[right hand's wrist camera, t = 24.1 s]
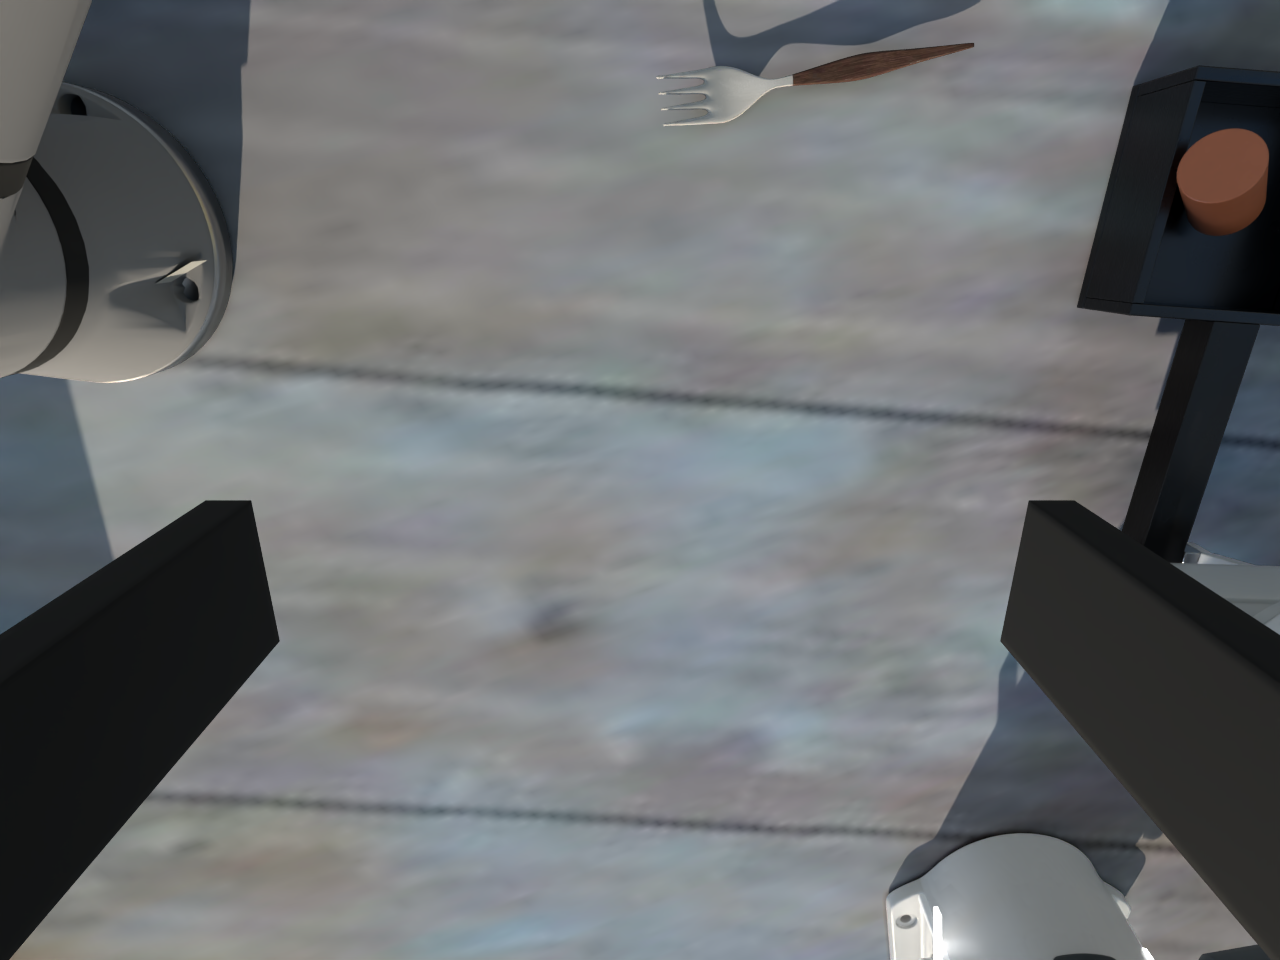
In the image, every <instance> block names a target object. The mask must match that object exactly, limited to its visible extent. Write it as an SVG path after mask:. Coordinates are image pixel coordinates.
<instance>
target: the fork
mask: <svg viewBox="0 0 1280 960" xmlns="http://www.w3.org/2000/svg"><path fill="white" fill-rule="evenodd" d="M972 47H974V43H966V44H956V45H946V46H937V47H927V48H916V49H904V50H891V51H879V52H870V53H864V54H859V55H855V56H851V57H847V58H844V59H840V60H837V61H834V62H830V63H827V64H824V65H821V66H818V67H815V68H812V69H809V70H805V71H802V72H799V73H796V74H793V75H790V76H786V77H782V78H778V79H765V78H762V77H759V76H756V75H753V74H751V73H748V72H746V71H743V70H741V69H737V68H734V67H729V66H716V67H710V68H706V69H701V70H696V71H689V72H683V73H676V74H670V75H664V76H657V77H656V78H657V79H660V78H669V79H686V78H699V79H703V80H704V83H703V84H702V85H699V86H695V87H689V88H683V89H677V90H672V91H666V92H660V93H659V94H704V95H705V96H706V99H704V100H702V101H699V102H694V103H688V104H683V105H677V106H672V107H667V108H662V109H661V110H690V109H705V110H707V111H708V114H707V115H705V116H702V117H697V118H692V119H686V120H681V121H677V122H672V123H664V124H663V125H664V126H669V125H695V124H714V123H724V122H728V121H731V120H733V119H735V118H737V117H738V116H740V115H741V114H742V113H744V112H745V111H746V110H747V109H748V108H749V107H750V106H752V105H753V104H754V103H755V102H756V101H757V100H758V99H759V98H760V97H761V96H762V95H764V94H765V93H766V92H768V91H770V90H772V89H774V88H778V87H783V86H795V85H811V84H827V83H840V82H850V81H856V80H862V79H866V78H870V77H874V76H877V75H881V74H884V73H887V72H890V71H893V70H897V69H900V68H903V67H906V66H909V65H913V64H916V63H919V62H923V61H926V60H930V59H933V58H937V57H940V56H944V55H948V54H951V53H955V52H958V51H962V50H966V49H969V48H972Z"/></svg>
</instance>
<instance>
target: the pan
mask: <svg viewBox="0 0 1280 960" xmlns="http://www.w3.org/2000/svg"><path fill="white" fill-rule="evenodd" d="M1231 128H1239V129H1245V130H1249V131H1252V132H1254V133H1256V134H1258V135H1259V136H1260V137H1261V138H1262V139H1263V140H1264V141H1265V143H1266V145H1267V147H1268V151H1269V163H1268V177H1267V191H1266V201H1265V205H1264V208H1263V210H1262V211H1261V213H1260V214H1259V216H1258V217H1257V218H1256V219H1255V220H1254V221H1253V222H1252V223H1251V224H1250V225H1248V226H1247V227H1245V228H1244V229H1242V230H1240V231H1238V232H1235V233H1232V234H1228V235H1223V236H1211V235H1206V234H1203V233H1200V232H1198V231H1197V230H1195V229H1194V228H1193V227H1192V226H1191V224H1190V223H1189V221H1188V218H1187V215H1186V211H1185V208H1184V204H1183V201H1182V197H1181V194H1180V190H1179V187H1178V183H1177V169H1178V166H1179V163H1180V161H1181V159H1182V157H1183V156H1184V154H1185V153H1186V152H1187V150H1188V149H1189V148H1190V147H1191V146H1192V145H1193V144H1195V143H1196V142H1197V141H1199V140H1200V139H1202V138H1203V137H1205V136H1207V135H1209V134H1211V133H1214V132H1217V131H1220V130H1224V129H1231ZM1077 308H1083V309H1090V310H1097V311H1104V312H1111V313H1118V314H1124V315H1133V316H1147V317H1161V318H1175V319H1186V320H1185V323H1184V327H1183V330H1182V333H1181V337H1180V340H1179V343H1178V347H1177V350H1176V353H1175V356H1174V360H1173V363H1172V366H1171V370H1170V373H1169V376H1168V380H1167V383H1166V386H1165V390H1164V393H1163V396H1162V399H1161V403H1160V406H1159V409H1158V413H1157V416H1156V419H1155V423H1154V426H1153V429H1152V433H1151V436H1150V439H1149V442H1148V446H1147V449H1146V452H1145V456H1144V459H1143V462H1142V466H1141V469H1140V472H1139V476H1138V479H1137V482H1136V486H1135V489H1134V492H1133V495H1132V499H1131V502H1130V505H1129V509H1128V512H1127V515H1126V519H1125V522H1124V525H1123V529H1122V532H1123V533H1125V534H1126V535H1128V536H1129V537H1131V538H1132V539H1134V540H1135V541H1137V542H1139V543H1140V544H1142V545H1143V546H1145V547H1146V548H1148V549H1149V550H1151V551H1152V552H1154V553H1155V554H1157V555H1158V556H1160V557H1161V558H1163V559H1165V560H1166V561H1168V562H1169V563H1181V560H1182V557H1183V554H1184V551H1185V548H1186V545H1187V542H1188V539H1189V536H1190V533H1191V530H1192V527H1193V524H1194V521H1195V518H1196V515H1197V512H1198V509H1199V506H1200V503H1201V500H1202V497H1203V494H1204V491H1205V488H1206V485H1207V482H1208V479H1209V476H1210V473H1211V470H1212V467H1213V464H1214V461H1215V458H1216V455H1217V452H1218V449H1219V446H1220V443H1221V440H1222V437H1223V434H1224V431H1225V428H1226V425H1227V422H1228V419H1229V416H1230V413H1231V410H1232V407H1233V404H1234V401H1235V399H1236V396H1237V393H1238V390H1239V387H1240V384H1241V381H1242V378H1243V375H1244V372H1245V369H1246V366H1247V363H1248V360H1249V357H1250V354H1251V351H1252V348H1253V345H1254V342H1255V339H1256V336H1257V333H1258V330H1259V327H1260V325H1274V326H1280V72H1274V71H1262V70H1249V69H1236V68H1224V67H1211V66H1196V67H1193V68H1190V69H1187V70H1183V71H1180V72H1177V73H1174V74H1171V75H1168V76H1165V77H1161V78H1158V79H1155V80H1152V81H1149V82H1146V83H1143V84H1139V85H1136V86H1133V88H1132V92H1131V96H1130V100H1129V104H1128V108H1127V112H1126V116H1125V120H1124V124H1123V128H1122V132H1121V135H1120V139H1119V143H1118V147H1117V151H1116V155H1115V159H1114V163H1113V167H1112V171H1111V175H1110V179H1109V183H1108V187H1107V191H1106V195H1105V198H1104V202H1103V206H1102V210H1101V214H1100V218H1099V222H1098V226H1097V230H1096V234H1095V238H1094V242H1093V246H1092V250H1091V254H1090V257H1089V261H1088V265H1087V269H1086V273H1085V277H1084V281H1083V285H1082V289H1081V293H1080V297H1079V301H1078V305H1077ZM1259 324H1260V325H1259Z"/></svg>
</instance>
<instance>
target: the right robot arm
mask: <svg viewBox="0 0 1280 960" xmlns="http://www.w3.org/2000/svg"><path fill="white" fill-rule="evenodd" d="M91 3H92V0H0V378H2V377H5V376H9V375H13V374H17V373H21V374H29V375H37V376H45V377H53V378H61V379H70V380H78V381H88V382H103V383H110V382H123V381H129V380H134V379H138V378H142V377H145V376H148V375H151V374H155V373H158V372H161V371H164V370H166V369H169V368H171V367H174V366H176V365H178V364H180V363H181V362H183V361H185V360H186V359H188V358H189V357H191V356H192V355H194V354H195V353H196V352H197V351H198V350H199V349H200V348H201V347H203V346H204V344H205V343H206V342H207V341H208V340H209V339H210V337H211V336H212V335H213V333H214V332H215V330H216V329H217V327H218V325H219V323H220V321H221V319H222V317H223V315H224V312H225V310H226V307H227V304H228V300H229V296H230V291H231V285H232V272H233V262H232V250H231V243H230V237H229V233H228V229H227V225H226V222H225V219H224V216H223V213H222V210H221V207H220V205H219V203H218V200H217V198H216V196H215V194H214V192H213V190H212V188H211V186H210V184H209V182H208V181H207V179H206V178H205V176H204V174H203V173H202V171H201V170H200V168H199V167H198V165H197V164H196V163H195V161H194V160H193V159H192V157H191V156H190V155H189V154H188V152H187V151H186V150H185V149H184V148H183V147H182V146H181V145H180V143H179V142H178V141H177V140H176V139H175V138H174V137H172V136H171V135H170V134H169V133H168V132H167V131H166V130H165V129H164V128H163V127H161V126H160V125H159V124H158V123H157V122H155V121H154V120H153V119H151V118H150V117H148V116H147V115H146V114H144V113H143V112H141V111H140V110H138V109H136V108H135V107H133V106H131V105H129V104H128V103H126V102H124V101H122V100H120V99H118V98H115V97H113V96H111V95H108V94H106V93H103V92H100V91H97V90H94V89H90V88H86V87H82V86H78V85H74V84H70V83H65V82H62V81H63V78H64V75H65V73H66V70H67V67H68V65H69V62H70V59H71V57H72V54H73V51H74V48H75V46H76V43H77V40H78V38H79V35H80V32H81V30H82V27H83V24H84V21H85V19H86V16H87V13H88V11H89V8H90V5H91ZM278 642H279V636H278V631H277V626H276V621H275V616H274V611H273V606H272V601H271V596H270V591H269V586H268V581H267V576H266V572H265V567H264V562H263V557H262V552H261V547H260V542H259V537H258V532H257V527H256V522H255V517H254V512H253V507H252V503H251V501H204V502H203V503H201V504H200V505H198V506H197V507H195V508H194V509H192V510H190V511H189V512H187V513H186V514H184V515H183V516H181V517H180V518H178V519H177V520H175V521H174V522H172V523H171V524H169V525H168V526H166V527H164V528H163V529H161V530H160V531H158V532H157V533H155V534H154V535H152V536H151V537H149V538H148V539H146V540H145V541H143V542H141V543H140V544H138V545H137V546H135V547H134V548H132V549H131V550H129V551H128V552H126V553H125V554H123V555H122V556H120V557H119V558H117V559H115V560H114V561H112V562H111V563H109V564H108V565H106V566H105V567H103V568H102V569H100V570H99V571H97V572H96V573H94V574H93V575H91V576H89V577H88V578H86V579H85V580H83V581H82V582H80V583H79V584H77V585H76V586H74V587H73V588H71V589H70V590H68V591H66V592H65V593H63V594H62V595H60V596H59V597H57V598H56V599H54V600H53V601H51V602H50V603H48V604H47V605H45V606H44V607H42V608H40V609H39V610H37V611H36V612H34V613H33V614H31V615H30V616H28V617H27V618H25V619H24V620H22V621H21V622H19V623H18V624H16V625H14V626H13V627H11V628H10V629H8V630H7V631H5V632H4V633H2V634H1V635H0V960H9V959H10V958H11V957H12V956H13V954H14V953H15V952H16V951H17V950H18V949H19V947H20V946H21V945H22V944H23V943H24V941H25V940H26V939H27V938H28V937H29V936H30V934H31V933H32V932H33V931H34V930H35V929H36V927H37V926H38V925H39V924H40V923H41V921H42V920H43V919H44V918H45V917H46V916H47V914H48V913H49V912H50V911H51V910H52V908H53V907H54V906H55V905H56V904H57V903H58V901H59V900H60V899H61V898H62V897H63V896H64V894H65V893H66V892H67V891H68V890H69V888H70V887H71V886H72V885H73V884H74V883H75V881H76V880H77V879H78V878H79V877H80V876H81V874H82V873H83V872H84V871H85V870H86V868H87V867H88V866H89V865H90V864H91V863H92V861H93V860H94V859H95V858H96V857H97V856H98V854H99V853H100V852H101V851H102V850H103V848H104V847H105V846H106V845H107V844H108V843H109V841H110V840H111V839H112V838H113V837H114V835H115V834H116V833H117V832H118V831H119V830H120V828H121V827H122V826H123V825H124V824H125V823H126V821H127V820H128V819H129V818H130V817H131V815H132V814H133V813H134V812H135V811H136V810H137V808H138V807H139V806H140V805H141V804H142V803H143V801H144V800H145V799H146V798H147V797H148V795H149V794H150V793H151V792H152V791H153V790H154V788H155V787H156V786H157V785H158V784H159V783H160V781H161V780H162V779H163V778H164V777H165V775H166V774H167V773H168V772H169V771H170V770H171V768H172V767H173V766H174V765H175V764H176V762H177V761H178V760H179V759H180V758H181V757H182V755H183V754H184V753H185V752H186V751H187V750H188V748H189V747H190V746H191V745H192V744H193V742H194V741H195V740H196V739H197V738H198V737H199V735H200V734H201V733H202V732H203V731H204V730H205V728H206V727H207V726H208V725H209V724H210V722H211V721H212V720H213V719H214V718H215V717H216V715H217V714H218V713H219V712H220V711H221V710H222V708H223V707H224V706H225V705H226V704H227V702H228V701H229V700H230V699H231V698H232V697H233V695H234V694H235V693H236V692H237V691H238V689H239V688H240V687H241V686H242V685H243V684H244V682H245V681H246V680H247V679H248V678H249V677H250V675H251V674H252V673H253V672H254V671H255V669H256V668H257V667H258V666H259V665H260V664H261V662H262V661H263V660H264V659H265V658H266V657H267V655H268V654H269V653H270V652H271V651H272V649H273V648H274V647H275V646H276V645H277V644H278ZM1001 642H1002V644H1003V645H1004V646H1005V647H1006V648H1007V649H1008V651H1009V652H1010V653H1011V654H1012V655H1013V657H1014V658H1015V659H1016V660H1017V661H1018V662H1019V664H1020V665H1021V666H1022V667H1023V668H1024V669H1025V671H1026V672H1027V673H1028V674H1029V675H1030V677H1031V678H1032V679H1033V680H1034V681H1035V682H1036V684H1037V685H1038V686H1039V687H1040V688H1041V689H1042V691H1043V692H1044V693H1045V694H1046V695H1047V697H1048V698H1049V699H1050V700H1051V701H1052V702H1053V704H1054V705H1055V706H1056V707H1057V708H1058V710H1059V711H1060V712H1061V713H1062V714H1063V715H1064V717H1065V718H1066V719H1067V720H1068V721H1069V722H1070V724H1071V725H1072V726H1073V727H1074V728H1075V730H1076V731H1077V732H1078V733H1079V734H1080V735H1081V737H1082V738H1083V739H1084V740H1085V741H1086V742H1087V744H1088V745H1089V746H1090V747H1091V748H1092V750H1093V751H1094V752H1095V753H1096V754H1097V755H1098V757H1099V758H1100V759H1101V760H1102V761H1103V762H1104V764H1105V765H1106V766H1107V767H1108V768H1109V770H1110V771H1111V772H1112V773H1113V774H1114V775H1115V777H1116V778H1117V779H1118V780H1119V781H1120V783H1121V784H1122V785H1123V786H1124V787H1125V788H1126V790H1127V791H1128V792H1129V793H1130V794H1131V795H1132V797H1133V798H1134V799H1135V800H1136V801H1137V803H1138V804H1139V805H1140V806H1141V807H1142V808H1143V810H1144V811H1145V812H1146V813H1147V814H1148V815H1149V817H1150V818H1151V819H1152V820H1153V821H1154V823H1155V824H1156V825H1157V826H1158V827H1159V828H1160V830H1161V831H1162V832H1163V833H1164V834H1165V835H1166V837H1167V838H1168V839H1169V840H1170V841H1171V843H1172V844H1173V845H1174V846H1175V847H1176V848H1177V850H1178V851H1179V852H1180V853H1181V854H1182V856H1183V857H1184V858H1185V859H1186V860H1187V861H1188V863H1189V864H1190V865H1191V866H1192V867H1193V868H1194V870H1195V871H1196V872H1197V873H1198V874H1199V876H1200V877H1201V878H1202V879H1203V880H1204V881H1205V883H1206V884H1207V885H1208V886H1209V887H1210V888H1211V890H1212V891H1213V892H1214V893H1215V894H1216V896H1217V897H1218V898H1219V899H1220V900H1221V901H1222V903H1223V904H1224V905H1225V906H1226V907H1227V908H1228V910H1229V911H1230V912H1231V913H1232V914H1233V916H1234V917H1235V918H1236V919H1237V920H1238V921H1239V923H1240V924H1241V925H1242V926H1243V927H1244V929H1245V930H1246V931H1247V932H1248V933H1249V934H1250V936H1251V937H1252V938H1253V939H1254V940H1255V941H1256V943H1257V944H1258V945H1259V946H1260V947H1261V949H1262V950H1263V951H1264V952H1265V953H1266V954H1267V956H1268V957H1269V958H1270V959H1271V960H1280V635H1279V634H1278V633H1276V632H1275V631H1273V630H1272V629H1270V628H1269V627H1267V626H1266V625H1264V624H1262V623H1261V622H1259V621H1258V620H1256V619H1255V618H1253V617H1252V616H1250V615H1249V614H1247V613H1246V612H1244V611H1243V610H1241V609H1240V608H1238V607H1236V606H1235V605H1233V604H1232V603H1230V602H1229V601H1227V600H1226V599H1224V598H1223V597H1221V596H1220V595H1218V594H1217V593H1215V592H1214V591H1212V590H1210V589H1209V588H1207V587H1206V586H1204V585H1203V584H1201V583H1200V582H1198V581H1197V580H1195V579H1194V578H1192V577H1191V576H1189V575H1187V574H1186V573H1184V572H1183V571H1181V570H1180V569H1178V568H1177V567H1175V566H1174V565H1172V564H1171V563H1169V562H1168V561H1166V560H1165V559H1163V558H1161V557H1160V556H1158V555H1157V554H1155V553H1154V552H1152V551H1151V550H1149V549H1148V548H1146V547H1145V546H1143V545H1142V544H1140V543H1139V542H1137V541H1135V540H1134V539H1132V538H1131V537H1129V536H1128V535H1126V534H1125V533H1123V532H1122V531H1120V530H1119V529H1117V528H1116V527H1114V526H1112V525H1111V524H1109V523H1108V522H1106V521H1105V520H1103V519H1102V518H1100V517H1099V516H1097V515H1096V514H1094V513H1093V512H1091V511H1090V510H1088V509H1086V508H1085V507H1083V506H1082V505H1080V504H1079V503H1077V502H1076V501H1029V503H1028V507H1027V512H1026V517H1025V522H1024V527H1023V532H1022V537H1021V542H1020V547H1019V552H1018V557H1017V562H1016V567H1015V572H1014V576H1013V581H1012V586H1011V591H1010V596H1009V601H1008V606H1007V611H1006V616H1005V621H1004V626H1003V631H1002V636H1001Z"/></svg>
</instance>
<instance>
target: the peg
mask: <svg viewBox="0 0 1280 960" xmlns="http://www.w3.org/2000/svg"><path fill="white" fill-rule="evenodd" d="M1268 163H1269V151H1268V147H1267V145H1266V143H1265V141H1264V140H1263V139H1262V138H1261V137H1260V136H1259V135H1258V134H1256V133H1254V132H1252V131H1249V130H1245V129H1239V128H1231V129H1224V130H1220V131H1217V132H1214V133H1211V134H1209V135H1207V136H1205V137H1203V138H1202V139H1200V140H1199V141H1197V142H1196V143H1195V144H1193V145H1192V146H1191V147H1190V148H1189V149H1188V150H1187V152H1186V153H1185V154H1184V156H1183V157H1182V159H1181V161H1180V163H1179V166H1178V169H1177V183H1178V187H1179V190H1180V194H1181V197H1182V201H1183V204H1184V208H1185V211H1186V215H1187V218H1188V221H1189V223H1190V224H1191V226H1192V227H1193V228H1194V229H1195V230H1197V231H1198V232H1200V233H1203V234H1206V235H1211V236H1223V235H1228V234H1232V233H1235V232H1238V231H1240V230H1242V229H1244V228H1245V227H1247V226H1248V225H1250V224H1251V223H1252V222H1253V221H1254V220H1255V219H1256V218H1257V217H1258V216H1259V214H1260V213H1261V211H1262V210H1263V208H1264V205H1265V201H1266V191H1267V177H1268Z"/></svg>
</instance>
